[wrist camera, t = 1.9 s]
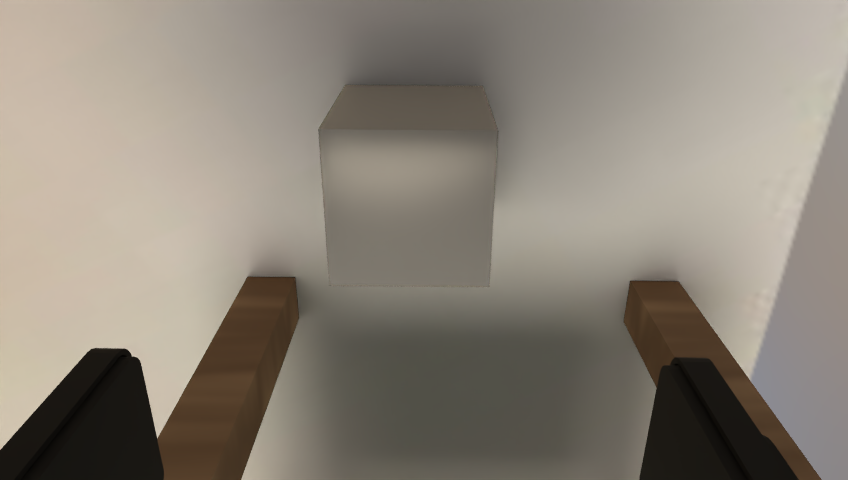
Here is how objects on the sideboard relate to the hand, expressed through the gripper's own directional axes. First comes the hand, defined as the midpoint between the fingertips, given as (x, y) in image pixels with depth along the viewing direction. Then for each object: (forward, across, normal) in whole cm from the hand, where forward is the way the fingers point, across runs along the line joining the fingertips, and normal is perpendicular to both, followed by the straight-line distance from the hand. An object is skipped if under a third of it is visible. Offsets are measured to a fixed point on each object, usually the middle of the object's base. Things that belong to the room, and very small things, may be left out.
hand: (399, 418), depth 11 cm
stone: (+14, 0, -1) cm, 14 cm away
